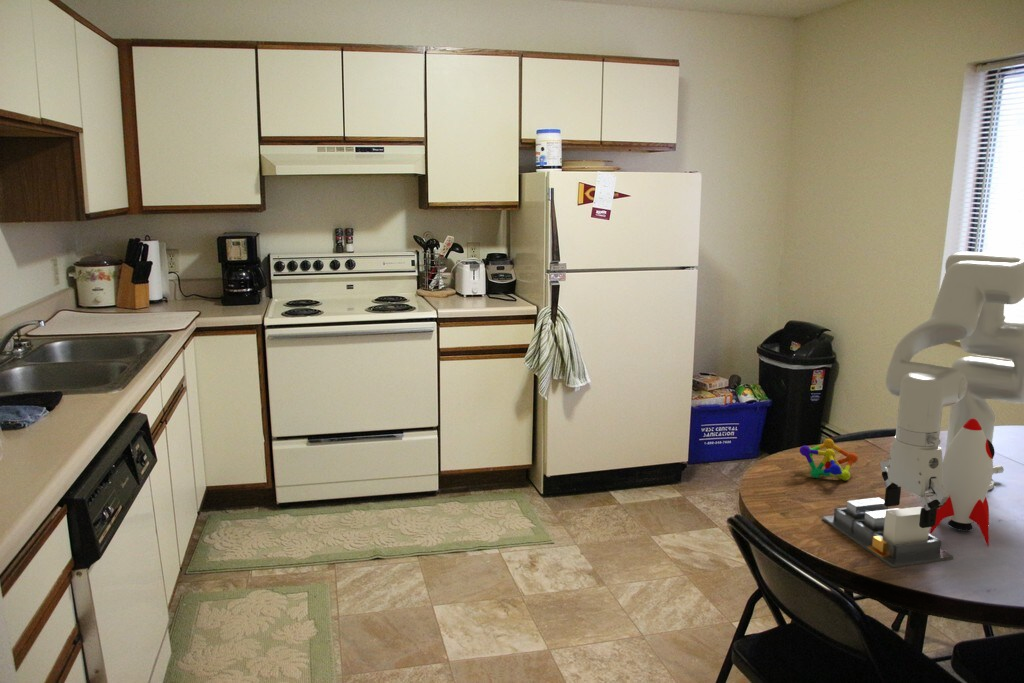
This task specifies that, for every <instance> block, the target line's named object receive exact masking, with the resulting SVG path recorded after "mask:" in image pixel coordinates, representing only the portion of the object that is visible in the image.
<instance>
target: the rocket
mask: <svg viewBox="0 0 1024 683" xmlns="http://www.w3.org/2000/svg"><path fill="white" fill-rule="evenodd" d="M945 450H946V449H945ZM994 457H995V447H994V445H993V442H992V443H991V442H990V441H989V440H988V439H986V437H985V434H984V432H983V430H982V428H981V426H980V424H979V423H978V421H977V420H976V419H970V420H968V421H967V422H966V423H965V425H964V426H963V427H962V428H961V429H960V430H959V432H958V433H957V434H956V435H955V437H954V438H953V439H952V441H951V443H950V444H949V446H948V448H947V450H946V453H945V452H944V456H943V480H942V486H943V488H944V489H945V490H946V491H947V493H948V494H949V498H948V499H947V500H946V502H945V504H944V505H943V506H941V507H940V508H939V509H937V514H936V522H935V526H933V527H930V530H929V534H931V535H932V533H934V531H935V530H936V529H937V528H938V526H939V525H940V524H941V523H942V521H944V519H946V518H948V519H949V521H948V522H947V525H948V526H949V527H950V528H952V529H955V530H958V531H964V532H967V531H968V532H970V531H972V530H973V529H974V528H973V523H975V524H977V526H978V527H979V529H980V532H981V534H982V536H983V539H984V541H985V543H986V545H987V547H989V546H990V542H989V541H990V539H989V535H990V534H989V532H990V530H989V526H990V511H989V510H990V509H989V502H988V499H987V498H988V497H987V494H988V492H989V490H988V489H989V486H990V483H991V479H992V478H993V475H992V473H993V466H994V464H993V463H994V462H993V461H994V460H993V459H994ZM988 525H989V526H988Z"/></svg>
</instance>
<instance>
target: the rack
mask: <svg viewBox="0 0 1024 683" xmlns="http://www.w3.org/2000/svg"><path fill="white" fill-rule="evenodd" d="M884 502H885V499H882V498H881V497H870V498H862V499H861V498H860V499H853V500H852V499H851V500H847V501H846V506H845V507H838V508H834V510H833V511H834V512H833V513H834V514H833V515H832V514H831V515H824V516H822V518H821V519H822V520H823V521H824V522H826V523H827V524H828V525H830V526H831V527H833V528H834V529H836V530H837V531H839V532H840V533H841V534H843V535H845V536H846V537H847V538H849V539H850V540H852V541H853V542H855V543H856V544H858V545H859V546H861V547H862V548H864V549H865V550H867V551H868V552H869V553H871V554H872V555H874V556H875V557H877V558H878V559H879V560H881V561H882V562H883V563H885V564H887V566H890V567H891V568H892V569H893V568H898V567H906V565H907V566H913V565H920V564H921V565H922V564H928V563H934V562H941V561H947V560H949V561H950V560H954V555H952V554H950V553H949V552H947V551H946V550H944V549H942V548H941V547H942V546H941V545H942V540H941V539H939V538H938V537H936V536H934V535H932V533H931V534H930V533H929V535H928V540H926V541H918V542H911V543H903V544H896V545H894V544H892V543H891V542H889V541H888V540H886V539H885V538H883V533H884V524H885V514H886V510H894V509H899V508H889V507H886V506H885V505H884Z"/></svg>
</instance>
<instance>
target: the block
mask: <svg viewBox="0 0 1024 683" xmlns="http://www.w3.org/2000/svg"><path fill="white" fill-rule="evenodd" d="M921 508H923V506H911V507H905V508H904V507H903V508H898V509H896V508H893V509H894V510H886V514H885V524H884V533H883V538H885V539H886V540H888V541H889V542H891V543H892V544H894V545H896V544H903V543H911V542H918V541H926V540H928V535H929V534H930V527H927V528H921V527H920V526H919V522H920V512H921Z"/></svg>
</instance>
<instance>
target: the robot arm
mask: <svg viewBox="0 0 1024 683" xmlns="http://www.w3.org/2000/svg"><path fill="white" fill-rule="evenodd" d="M944 267H945V270H944V271H945V273H944V276H943V280H942V282H941V285H940V287H939V291H938V294H937V297H936V300H935V303H934V306H933V309H932V313H931V316H930V318H929V319H927V320H926V321H924V322H922V323H919V325H917V326H916V327H914V328H912V330H910V331H909V332H907V334H905V335H904V336H903V337H902V338H901V339H900V340H899V341H898V343H897V344H896V346H895V348H894V350H893V354H892V357H891V359H890V362H889V364H888V368H887V372H886V375H885V387H886V390H888V392H889V393H890V394H891V395H893V396H895V397H898V398H899V401H898V410H897V419H896V420H897V421H896V429H895V436H894V437H893V441H892V442H891V443H892V444H891V448H890V451H889V457H888V460H883V461H880V462H879V465H880V469H881V476H882V479H883V481H884V482H883V487H884V488H885V491H884V492H885V494H884V500H885V502H884V505H885V506H886V507H888V508H889V507H895V506H900V502H901V501H900V500H901V493H902V492H901V491H902V489H903V490H905V491H907V492H909V493H911V494H912V495H914V496H917V497H919V499H920V501H921V504H922V508H921V512H920V522H919V526H920V527H921V528H927V527H929V528H931V527H933V526H935V522H936V514H937V509H939V508H940V507H941V506H943V505H944V504H945V502H946V500H947V499H948V498H949V494H948V493H947V491H946V490H945V489H944V488H943V483H942V480H943V460H944V458H943V452H942V451H943V450H942V447H941V446H939V445H940V444H941V443H942V442H941V441H942V440H941V438H940V436H941V435H940V434H941V425H942V416H943V408H944V407H949V408H950V410H949V415H948V416H949V417H948V427H947V428H948V429H947V434H946V444H945V451H944V454H945V453H946V450H947V448H948V446H949V444H950V443H951V441H952V439H953V438H954V437H955V435H956V434H957V433H958V432H959V430H960V429H961V428H962V427H963V426H964V425H965V423H966V422H967V421H968V420H970V419H976V420H977V421H978V423H979V424H980V426H981V428H982V430H983V432H984V434H985V437H986V439H988V440H989V441H990V442H991V443H992V444H993V438H994V431H995V424H996V414H995V411H994V409H993V407H992V405H990V403H989V402H988V400H994V401H999V402H1005V403H1011V404H1018V405H1019V404H1021V405H1022V404H1023V405H1024V319H1020V318H1011V317H1010V318H1009V317H1006V316H1005V315H1004V313H1005V305H1015V304H1018V303H1019V302H1020V301H1022V300H1023V299H1024V255H1023V254H1014V253H1013V254H1012V253H1010V254H1009V253H1008V254H1007V253H995V252H994V253H993V252H978V251H960V252H954V253H953V254H952V253H951V254H950V255H949V256H948V257H947V259H946V261H945V266H944ZM955 341H959V345H960V348H961V349H962V351H963V352H965V353H967V354H969V355H974V356H964V357H959V358H957V359H956V360H955V361H954V362H953V363H952V365H951V367H948V366H942V365H941V366H940V365H935V364H931V363H930V364H929V363H922V362H916V361H911V360H912V358H913V357H915V355H917V354H918V353H920V352H922V351H924V350H926V349H928V348H932V347H935V346H939V345H944V344H947V343H952V342H955ZM979 356H980V357H979ZM1007 360H1008V361H1007ZM1004 470H1005V469H1004V466H1002V465H1001V464H999V465H993V473H992V476H993V475H995V474H1003V473H1004ZM994 487H995V480H994V479H991V483H990V486H989V489H988V491H990V490H992V489H994ZM928 498H930V502H929V499H928Z"/></svg>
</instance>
